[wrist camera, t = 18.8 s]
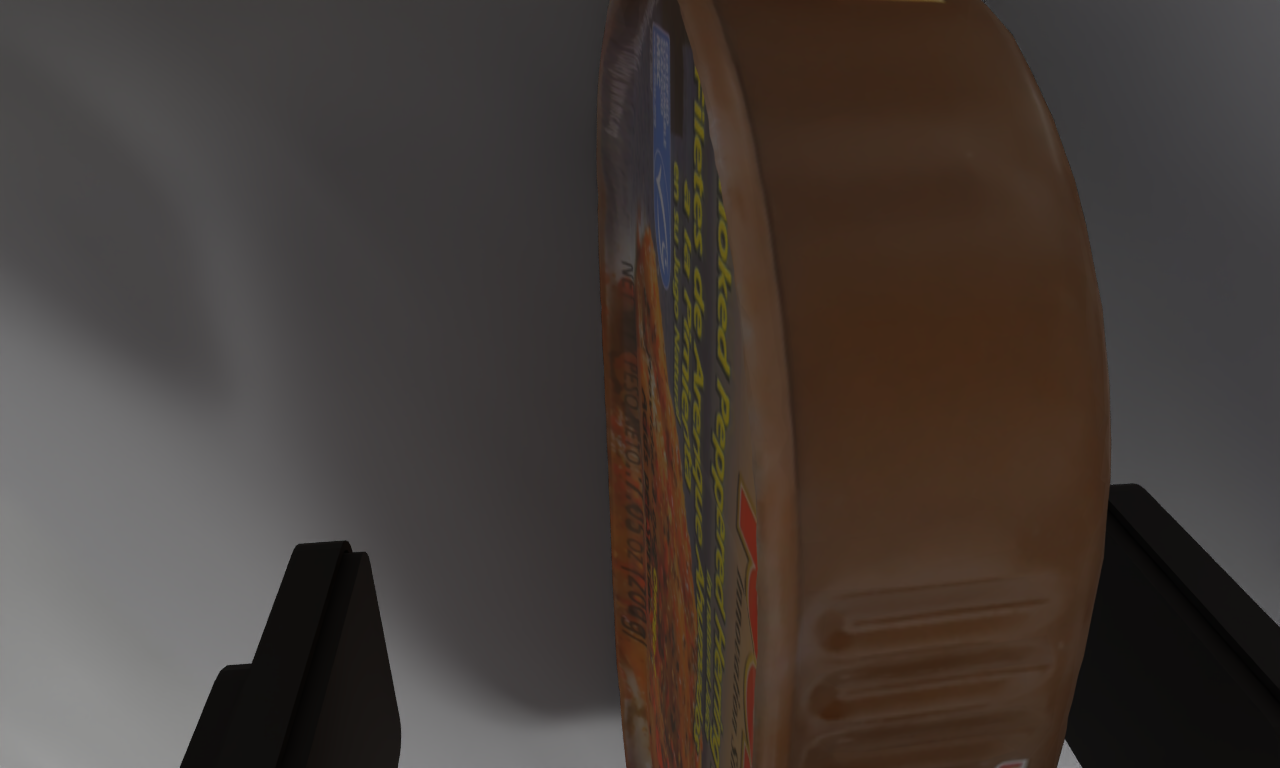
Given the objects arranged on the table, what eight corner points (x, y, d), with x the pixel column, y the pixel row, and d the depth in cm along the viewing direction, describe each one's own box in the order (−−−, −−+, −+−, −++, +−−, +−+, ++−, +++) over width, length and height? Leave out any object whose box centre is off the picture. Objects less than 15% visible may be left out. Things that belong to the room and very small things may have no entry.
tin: (584, -85, 12) (660, -14, 4) (844, -92, 12) (1349, -33, 4) (620, 794, 19) (672, 1406, 11) (784, 779, 19) (942, 1372, 11)
